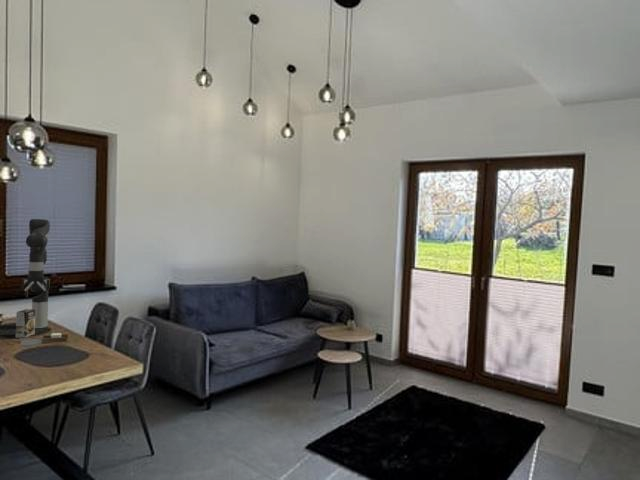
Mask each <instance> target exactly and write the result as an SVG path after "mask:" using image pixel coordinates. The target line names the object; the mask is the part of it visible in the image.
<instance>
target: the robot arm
mask: <svg viewBox="0 0 640 480" xmlns="http://www.w3.org/2000/svg"><path fill="white" fill-rule="evenodd" d="M50 226H51V225H50V221H49V220H48V219H44V218H42V219H40V218H31V219H30V220H29V224H28V227H29V228H28V229H29V235H27V237H26V240H25V244H26V246H27V247H29V249H30V252H29V256H28V257H29V259H28V261H29V262H28V267H27V268H28V269H27V270H28V274H27V276H28V277H27V279H25V278H23V279H22V280H21V281H20V282H21V285H20V290H21V291H24V297H25V298H28V297H29V290H30V291H31V292H42V293H40V294H39V295H35V296H32V299H31V309H33V310H35V329H43V328H47V327H48V320H49V319H48V318H49V290H50V289H51V282H50V281H51V280H50V278H48V277H44V274H45V273H44V268H45V266H44V265H45V264H46V263H47V259H48V255H47V253H48V252H47V249H46V247H47V245H48V241H49V240H48V239H49V238H48V237H47V236H46V235H48V234H49V232H50V229H51V227H50ZM26 283H28V285H27V286H26V287H25V284H26Z"/></svg>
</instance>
